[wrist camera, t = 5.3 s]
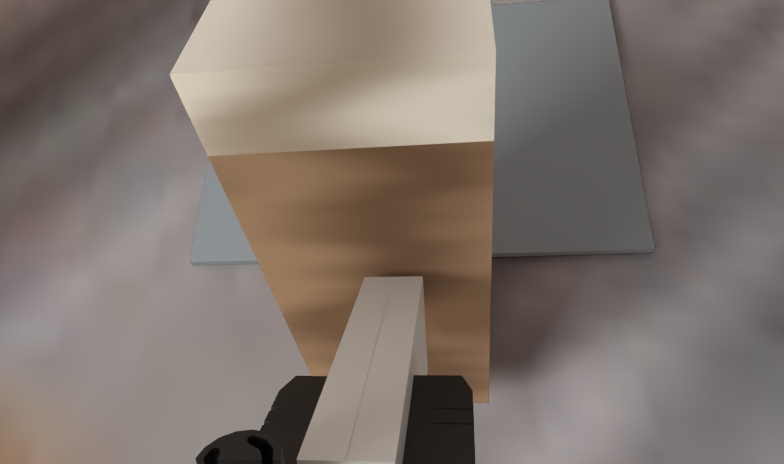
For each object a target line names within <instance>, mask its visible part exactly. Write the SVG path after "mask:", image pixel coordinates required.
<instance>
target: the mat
mask: <svg viewBox="0 0 784 464" xmlns="http://www.w3.org/2000/svg"><path fill="white" fill-rule="evenodd" d="M491 11H492V20H493V29H494V38H495V47H496V75H495V124H494V172H493V220H492V257H515V256H552V255H588V254H624V253H652V252H653V251H654V250H655V247H654V241H653V236H652V230H651V225H650V220H649V214H648V209H647V203H646V198H645V193H644V187H643V182H642V176H641V171H640V165H639V160H638V155H637V149H636V144H635V138H634V133H633V128H632V122H631V117H630V111H629V106H628V101H627V95H626V90H625V84H624V79H623V74H622V68H621V63H620V57H619V52H618V47H617V41H616V36H615V30H614V25H613V20H612V14H611V9H610V3H609V0H553V1H541V2H529V3H517V4H505V5H493V6H491ZM190 263H191V264H192V265H225V264H259V263H258V261H257V259H256V257H255V255H254V253H253V251H252V248H251V246H250V244H249V242H248V240H247V238H246V236H245V234H244V232H243V229H242V227H241V225H240V223H239V221H238V219H237V217H236V215H235V213H234V210H233V208H232V206H231V204H230V202H229V200H228V198H227V196H226V194H225V191H224V189H223V187H222V185H221V183H220V181H219V179H218V177H217V174H216V172H215V170H214V168H213V166H212V164H211V162H210V160H209V159H208V165H207V170H206V176H205V181H204V186H203V192H202V197H201V203H200V208H199V214H198V219H197V224H196V230H195V235H194V241H193V246H192V252H191V257H190Z"/></svg>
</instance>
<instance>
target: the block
mask: <svg viewBox="0 0 784 464" xmlns="http://www.w3.org/2000/svg"><path fill="white" fill-rule="evenodd" d="M169 75H170V77H171V79H172V82H173V84H174V86H175V88H176V90H177V92H178V94H179V96H180V98H181V101H182V103H183V105H184V107H185V109H186V111H187V113H188V115H189V117H190V120H191V122H192V124H193V126H194V128H195V130H196V132H197V134H198V136H199V139H200V141H201V143H202V145H203V147H204V149H205V151H206V153H207V155H208V158H209V160H210V162H211V164H212V166H213V168H214V170H215V172H216V174H217V177H218V179H219V181H220V183H221V185H222V187H223V189H224V191H225V194H226V196H227V198H228V200H229V202H230V204H231V206H232V208H233V210H234V213H235V215H236V217H237V219H238V221H239V223H240V225H241V227H242V229H243V232H244V234H245V236H246V238H247V240H248V242H249V244H250V246H251V248H252V251H253V253H254V255H255V257H256V259H257V261H258V263H259V265H260V267H261V270H262V272H263V274H264V276H265V278H266V280H267V282H268V284H269V286H270V289H271V291H272V293H273V295H274V297H275V299H276V301H277V303H278V305H279V308H280V310H281V312H282V314H283V316H284V318H285V320H286V322H287V324H288V327H289V329H290V331H291V333H292V335H293V337H294V339H295V341H296V343H297V346H298V348H299V350H300V352H301V354H302V356H303V358H304V360H305V362H306V365H307V367H308V369H309V371H310V373H311V375H312V376H328V374H329V371H330V369H331V366H332V363H333V361H334V358H335V355H336V353H337V350H338V347H339V344H340V342H341V339H342V336H343V334H344V331H345V328H346V326H347V323H348V320H349V318H350V315H351V312H352V310H353V307H354V304H355V302H356V299H357V296H358V294H359V291H360V288H361V286H362V283H363V280H364V278H365V277H407V276H423V289H424V307H425V326H426V344H427V362H428V371H427V375H462V376H463V378H464V379H465V380H466V382H467V383H468V385H469V386H470V388H471V389H472V390H473V403H489V365H490V317H491V268H492V220H493V172H494V124H495V75H496V47H495V38H494V29H493V20H492V11H491V2H490V0H210V2H209V4H208V6H207V7H206V9H205V11H204V13H203V15H202V16H201V18H200V20H199V22H198V24H197V26H196V27H195V29H194V31H193V33H192V35H191V36H190V38H189V40H188V42H187V44H186V45H185V47H184V49H183V51H182V53H181V55H180V56H179V58H178V60H177V62H176V64H175V65H174V67H173V69H172V71H171V73H170V74H169Z"/></svg>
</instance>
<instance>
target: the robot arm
mask: <svg viewBox="0 0 784 464" xmlns="http://www.w3.org/2000/svg"><path fill="white" fill-rule="evenodd" d="M427 371H428V362H427V344H426V326H425V307H424V289H423V276H407V277H365V278H364V280H363V283H362V286H361V288H360V291H359V294H358V296H357V299H356V302H355V304H354V307H353V310H352V312H351V315H350V318H349V320H348V323H347V326H346V328H345V331H344V334H343V336H342V339H341V342H340V344H339V347H338V350H337V353H336V355H335V358H334V361H333V363H332V366H331V369H330V371H329V374H328V376H295V377H294V378H293V379H292V380H291V381H290V382H289V383H288V384H286V385H285V386H284V387H283V388H282V389H281V390H280V391H279V393H278V395H277V397H276V399H275V401H274V403H273V405H272V407H271V411H269V413H268V415H267V417H266V419H265V421H264V425H262V427H261V429H260V431H257V430H245V431H237V432H234V433H231V434H228V435H225V436H222V437H220V438H218V439H217V440H215V441H214V442H212V443H211V444H209V445H208V446H206V447H205V448H204V449H203V450H202V452H201V453H200V454H199V455H198V456H197V457H196V462H197V464H475V446H474V415H473V390H472V389H471V388H470V386H469V385H468V383H467V382H466V380H465V379H464V378H463V376H462V375H427Z"/></svg>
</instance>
